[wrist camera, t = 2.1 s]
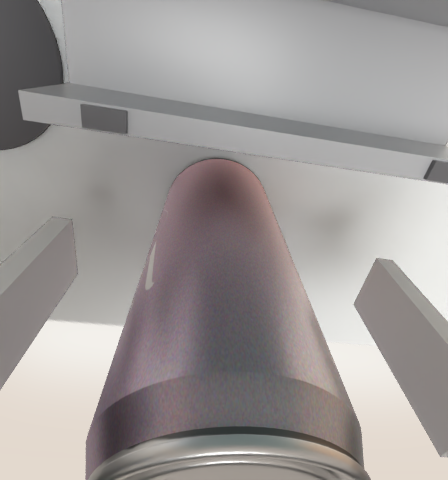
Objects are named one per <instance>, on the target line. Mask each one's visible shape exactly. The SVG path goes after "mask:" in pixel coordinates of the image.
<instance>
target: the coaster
mask: <svg viewBox="0 0 448 480" xmlns="http://www.w3.org/2000/svg"><path fill="white" fill-rule="evenodd" d="M58 84H63V71H62V63H61V57H60V52H59V49H58V45H57V41H56V38H55V36H54V33H53V31H52V28H51V25H50V23H49V21H48V19H47V17H46V15H45V13H44V11H43V9H42V8H41V6H40V4H39V3H38V1H37V0H0V150H6V149H11V148H15V147H18V146H21V145H24V144H26V143H28V142H30V141H32V140H33V139H35V138H37V137H38V136H39V135H40V134H42V133H43V132H44V131H45V130H46V129H47V127H48V126H49V125H50V124H47V123H40V122H34V121H27V120H23V116H22V110H21V105H20V99H19V93H18V90H23V89H30V88H37V87H44V86H51V85H58Z"/></svg>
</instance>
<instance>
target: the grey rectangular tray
mask: <svg viewBox="0 0 448 480" xmlns="http://www.w3.org/2000/svg"><path fill="white" fill-rule="evenodd" d="M61 1H62V12H63V23H64V33H65V44H66V55H67V66H68V77H69V83H65V84H58V85H51V86H44V87H37V88H30V89H23V90H18V93H19V99H20V105H21V110H22V116H23V120H27V121H34V122H40V123H47V124H54V125H60V126H67V127H73V128H80V129H87V130H93V131H100V132H106V133H113V134H119V135H126V136H133V137H139V138H146V139H152V140H159V141H166V142H172V143H179V144H185V145H192V146H198V147H205V148H212V149H218V150H225V151H231V152H238V153H245V154H251V155H258V156H264V157H271V158H277V159H284V160H291V161H297V162H304V163H310V164H317V165H324V166H330V167H337V168H343V169H350V170H356V171H363V172H370V173H376V174H383V175H389V176H396V177H403V178H409V179H416V180H422V181H429V182H435V183H442V184H448V147H447V146H446V144H447V142H448V0H61Z"/></svg>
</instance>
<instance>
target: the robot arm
mask: <svg viewBox="0 0 448 480" xmlns="http://www.w3.org/2000/svg"><path fill="white" fill-rule="evenodd" d="M77 274H78V269H77V260H76V251H75V242H74V233H73V223H72V219H65V218H57V217H52V218H51V219H50V220H48V221H47V222H46V223H45V224H44V225H43V226H42V227H41V228H40V229H39V230H38V231H36V232H35V233H34V234H33V235H32V236H31V237H30V238H29V239H28V240H27V241H26V242H24V243H23V244H22V245H21V246H20V247H19V248H18V249H17V250H16V251H15V252H14V253H13V254H11V255H10V256H9V257H8V258H7V259H6V260H5V261H4V262H3V263H2V264H1V265H0V389H1V388H2V387H3V385H4V384H5V382H6V381H7V379H8V378H9V376H10V375H11V373H12V372H13V370H14V369H15V367H16V366H17V364H18V363H19V361H20V360H21V358H22V357H23V355H24V354H25V352H26V351H27V349H28V348H29V346H30V345H31V343H32V342H33V340H34V339H35V337H36V336H37V334H38V333H39V331H40V329H41V328H42V327H43V325H44V324H45V322H46V321H47V319H48V318H49V316H50V315H51V313H52V312H53V310H54V309H55V307H56V306H57V304H58V303H59V301H60V300H61V298H62V297H63V295H64V294H65V292H66V291H67V289H68V288H69V286H70V285H71V283H72V282H73V280H74V279H75V277H76V276H77ZM354 306H355V308H356V310H357V311H358V313H359V315H360V317H361V318H362V320H363V322H364V324H365V325H366V327H367V329H368V331H369V332H370V334H371V336H372V338H373V339H374V341H375V343H376V345H377V346H378V348H379V350H380V351H381V353H382V355H383V357H384V359H385V360H386V362H387V364H388V366H389V367H390V369H391V371H392V373H393V375H394V376H395V378H396V380H397V381H398V383H399V385H400V387H401V389H402V390H403V392H404V394H405V396H406V397H407V399H408V401H409V403H410V404H411V406H412V408H413V409H414V411H415V413H416V415H417V417H418V418H419V420H420V422H421V424H422V426H423V427H424V429H425V431H426V433H427V434H428V436H429V438H430V440H431V441H432V443H433V445H434V446H435V448H436V450H437V452H438V454H439V455H440V457H448V322H447V320H446V319H445V318H444V317H443V316H442V315H441V314H440V313H439V312H438V310H437V309H436V308H435V307H434V306H433V305H432V304H431V303H430V302H429V300H428V299H427V298H426V297H425V296H424V295H423V294H422V293H421V291H420V290H419V289H418V288H417V287H416V286H415V285H414V284H413V283H412V281H411V280H410V279H409V278H408V277H407V276H406V275H405V274H404V273H403V271H402V270H401V269H400V268H399V267H398V266H397V265H396V264H395V263H394V261H393V260H387V259H379V258H376V260H375V262H374V264H373V266H372V268H371V270H370V272H369V274H368V276H367V278H366V280H365V282H364V284H363V286H362V288H361V290H360V292H359V294H358V296H357V298H356V300H355V302H354Z"/></svg>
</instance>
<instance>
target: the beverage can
mask: <svg viewBox="0 0 448 480" xmlns="http://www.w3.org/2000/svg"><path fill="white" fill-rule="evenodd" d="M86 480H371V479H370V477H369V475H368V474H367V472H366V471H365V470H364V462H363V448H362V434H361V428H360V424H359V421H358V419H357V416H356V414H355V412H354V409H353V407H352V404H351V402H350V399H349V397H348V394H347V392H346V390H345V387H344V385H343V382H342V380H341V377H340V375H339V372H338V370H337V368H336V365H335V363H334V360H333V358H332V355H331V353H330V350H329V348H328V345H327V343H326V340H325V338H324V336H323V333H322V331H321V328H320V326H319V323H318V321H317V318H316V316H315V314H314V311H313V309H312V306H311V304H310V301H309V299H308V296H307V294H306V291H305V289H304V287H303V284H302V282H301V279H300V277H299V274H298V272H297V269H296V267H295V264H294V262H293V260H292V257H291V255H290V252H289V250H288V247H287V245H286V242H285V240H284V238H283V235H282V233H281V230H280V228H279V225H278V223H277V220H276V218H275V215H274V213H273V211H272V208H271V206H270V203H269V201H268V198H267V196H266V193H265V191H264V189H263V186H262V184H261V183H260V181H259V180H258V178H257V177H256V176H255V175H254V174H253V173H252V172H251V171H250V170H249V169H247V168H246V167H244V166H243V165H241V164H239V163H236V162H233V161H230V160H225V159H209V160H204V161H200V162H198V163H195V164H193V165H191V166H189V167H188V168H186V169H185V170H184V171H183V172H181V173H180V174H179V175H178V177H177V178H176V179H175V180H174V182H173V184H172V186H171V188H170V190H169V193H168V196H167V199H166V202H165V205H164V208H163V211H162V214H161V217H160V220H159V223H158V226H157V229H156V232H155V235H154V238H153V241H152V244H151V247H150V250H149V253H148V256H147V259H146V262H145V265H144V268H143V271H142V274H141V277H140V280H139V283H138V286H137V289H136V292H135V295H134V298H133V301H132V304H131V307H130V310H129V313H128V316H127V319H126V322H125V325H124V328H123V331H122V334H121V337H120V340H119V343H118V346H117V349H116V352H115V355H114V358H113V361H112V364H111V367H110V370H109V373H108V376H107V379H106V382H105V385H104V388H103V391H102V394H101V397H100V400H99V403H98V406H97V409H96V412H95V415H94V418H93V421H92V424H91V427H90V430H89V433H88V436H87V440H86Z"/></svg>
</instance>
